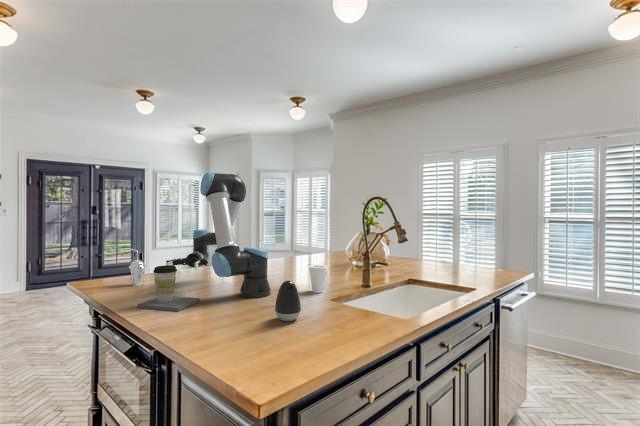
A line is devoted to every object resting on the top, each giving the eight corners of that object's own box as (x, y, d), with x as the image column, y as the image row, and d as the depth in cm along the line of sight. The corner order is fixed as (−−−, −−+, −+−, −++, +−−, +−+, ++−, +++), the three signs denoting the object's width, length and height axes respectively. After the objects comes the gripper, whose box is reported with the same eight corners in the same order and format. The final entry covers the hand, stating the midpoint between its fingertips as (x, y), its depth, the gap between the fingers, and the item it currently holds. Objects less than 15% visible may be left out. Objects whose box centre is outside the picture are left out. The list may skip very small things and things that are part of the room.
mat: (200, 301, 161) (200, 298, 161) (178, 311, 145) (178, 307, 145) (162, 298, 165) (162, 295, 165) (137, 307, 150) (137, 304, 150)
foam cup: (330, 290, 184) (330, 266, 183) (321, 294, 176) (321, 268, 176) (315, 288, 189) (315, 264, 188) (305, 291, 181) (305, 266, 181)
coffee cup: (169, 303, 151) (169, 269, 151) (148, 302, 152) (148, 268, 152) (181, 298, 161) (181, 265, 161) (161, 297, 162) (161, 264, 162)
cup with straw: (132, 287, 187) (132, 250, 186) (125, 284, 193) (125, 248, 193) (148, 284, 193) (148, 248, 193) (141, 282, 199) (141, 247, 199)
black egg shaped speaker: (280, 325, 130) (280, 284, 129) (271, 317, 139) (271, 279, 139) (305, 321, 134) (305, 282, 134) (294, 313, 144) (295, 277, 143)
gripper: (218, 266, 191) (207, 273, 170) (171, 266, 190) (154, 273, 169) (218, 252, 191) (207, 257, 170) (171, 252, 190) (154, 257, 168)
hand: (181, 265), depth 169 cm, fingers open, 13 cm apart
